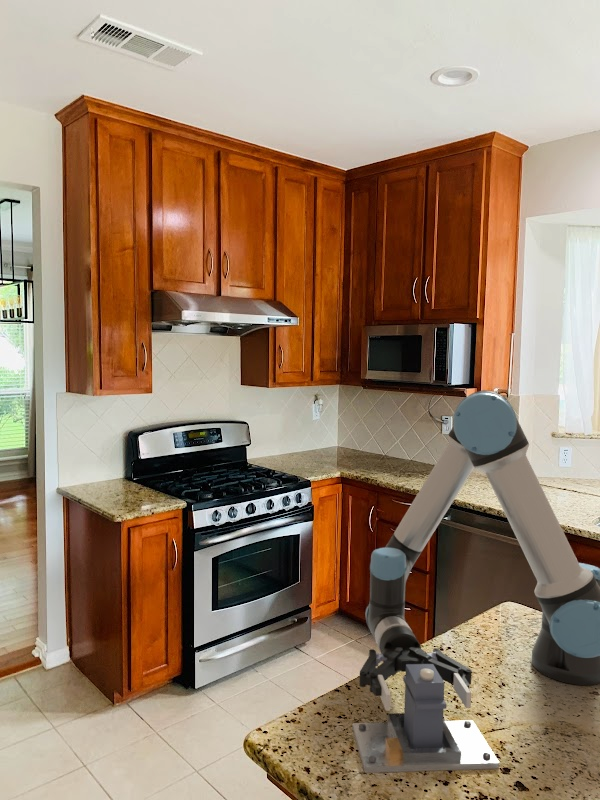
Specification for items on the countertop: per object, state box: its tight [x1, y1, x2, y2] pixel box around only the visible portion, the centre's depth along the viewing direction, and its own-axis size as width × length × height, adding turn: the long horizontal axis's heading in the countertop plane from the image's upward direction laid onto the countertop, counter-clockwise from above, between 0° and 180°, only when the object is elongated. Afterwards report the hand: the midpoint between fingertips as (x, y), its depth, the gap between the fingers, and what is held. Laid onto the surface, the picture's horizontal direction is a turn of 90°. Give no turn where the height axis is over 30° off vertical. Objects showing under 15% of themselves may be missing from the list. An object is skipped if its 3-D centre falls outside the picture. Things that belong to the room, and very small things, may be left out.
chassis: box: [351, 712, 500, 774], centre depth 106 cm, size 22×12×3 cm, turn 95°
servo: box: [402, 664, 448, 749], centre depth 105 cm, size 5×9×13 cm, turn 5°
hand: (428, 701), depth 103 cm, fingers open, 13 cm apart
